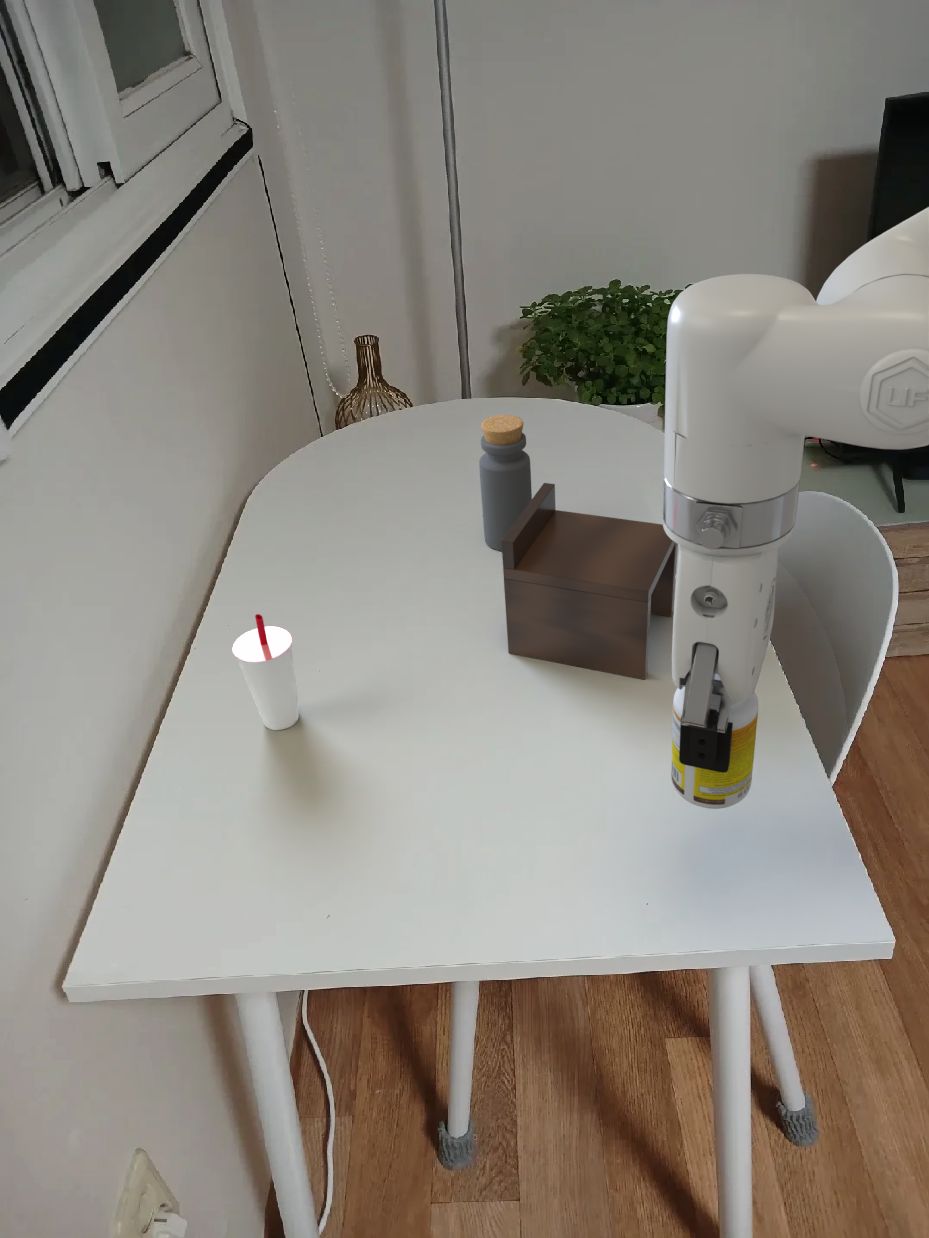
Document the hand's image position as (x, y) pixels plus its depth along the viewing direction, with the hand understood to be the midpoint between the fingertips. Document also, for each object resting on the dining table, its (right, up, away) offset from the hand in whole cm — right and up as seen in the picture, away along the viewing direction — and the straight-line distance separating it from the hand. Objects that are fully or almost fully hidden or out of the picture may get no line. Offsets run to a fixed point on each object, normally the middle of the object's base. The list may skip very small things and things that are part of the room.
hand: (713, 732), depth 65 cm
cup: (-35, -2, +25) cm, 43 cm away
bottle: (-12, +17, +49) cm, 53 cm away
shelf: (-4, +7, +33) cm, 33 cm away
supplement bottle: (+1, -4, +3) cm, 5 cm away
